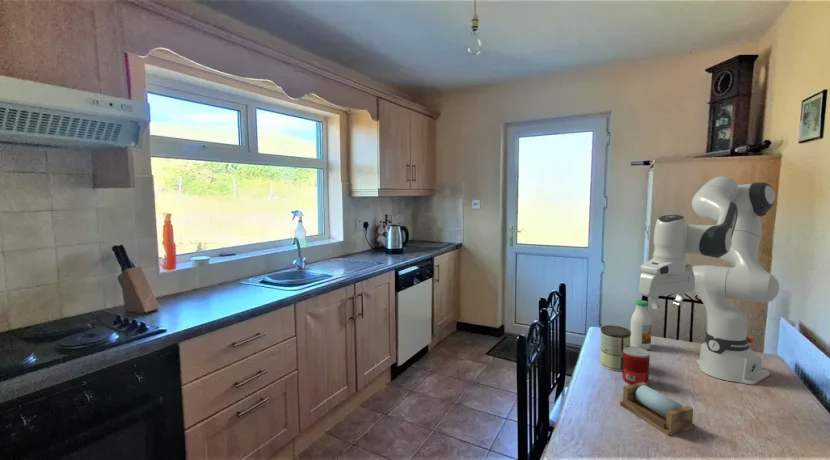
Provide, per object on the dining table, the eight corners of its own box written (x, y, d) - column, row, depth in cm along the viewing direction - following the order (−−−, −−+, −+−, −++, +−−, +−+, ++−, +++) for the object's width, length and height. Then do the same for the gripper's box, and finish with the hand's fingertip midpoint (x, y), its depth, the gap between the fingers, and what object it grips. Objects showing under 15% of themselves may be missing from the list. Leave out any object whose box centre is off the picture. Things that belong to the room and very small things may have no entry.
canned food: (652, 387, 129) (653, 356, 128) (626, 385, 131) (627, 354, 130) (643, 376, 136) (644, 347, 135) (619, 375, 138) (620, 346, 137)
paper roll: (645, 403, 119) (650, 386, 119) (680, 423, 108) (685, 404, 108) (632, 401, 117) (637, 384, 117) (666, 421, 107) (671, 402, 107)
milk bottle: (633, 349, 159) (635, 303, 157) (626, 342, 167) (628, 298, 165) (653, 350, 158) (656, 304, 156) (645, 343, 166) (647, 299, 164)
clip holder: (644, 399, 122) (645, 381, 121) (694, 428, 107) (695, 408, 106) (620, 404, 119) (620, 386, 118) (668, 435, 104) (669, 414, 103)
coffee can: (601, 357, 153) (602, 323, 152) (630, 363, 147) (632, 328, 146) (597, 367, 144) (599, 331, 143) (628, 374, 139) (630, 336, 137)
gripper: (682, 261, 129) (680, 300, 130) (636, 266, 122) (634, 307, 124) (701, 264, 123) (699, 306, 124) (653, 270, 116) (652, 313, 118)
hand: (666, 307), depth 124 cm, fingers open, 8 cm apart
